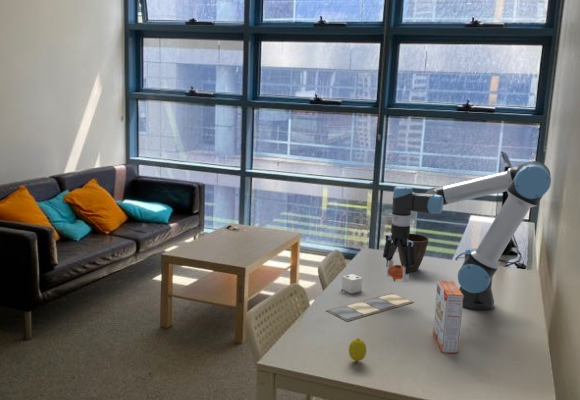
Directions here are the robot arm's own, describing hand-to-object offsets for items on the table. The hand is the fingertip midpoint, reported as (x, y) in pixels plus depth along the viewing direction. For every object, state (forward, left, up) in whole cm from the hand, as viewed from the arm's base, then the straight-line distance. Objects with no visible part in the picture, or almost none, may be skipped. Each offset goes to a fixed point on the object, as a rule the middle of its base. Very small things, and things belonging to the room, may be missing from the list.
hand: (397, 278), depth 235 cm
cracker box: (-38, +16, -10) cm, 42 cm away
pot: (0, 0, -1) cm, 1 cm away
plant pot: (+25, -37, -10) cm, 46 cm away
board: (0, +14, -10) cm, 17 cm away
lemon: (-31, +51, -10) cm, 60 cm away
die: (+18, +8, -10) cm, 22 cm away
